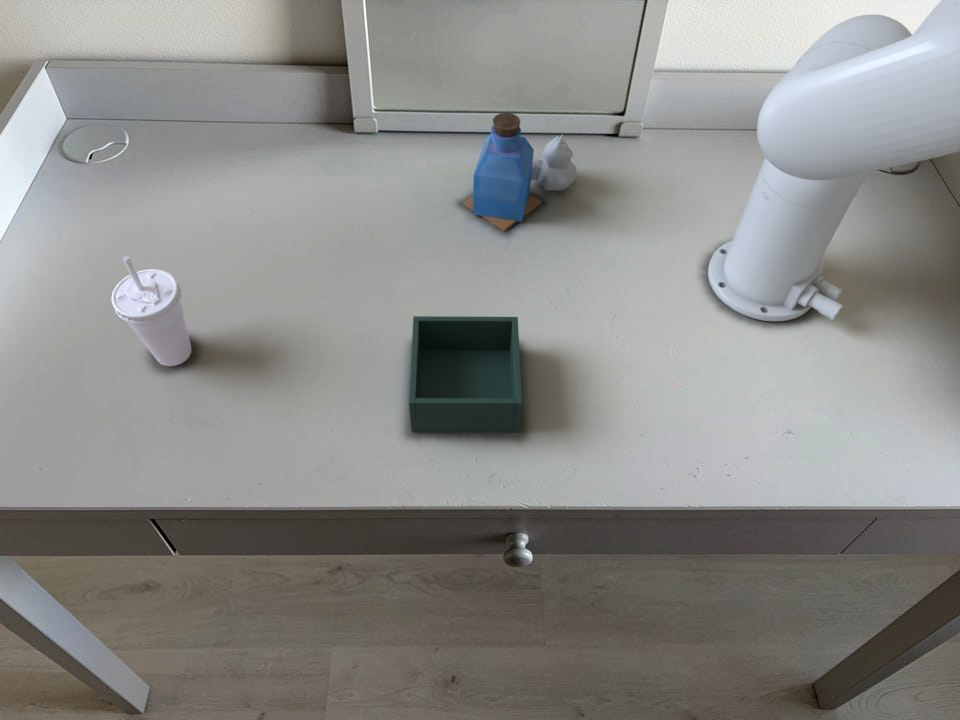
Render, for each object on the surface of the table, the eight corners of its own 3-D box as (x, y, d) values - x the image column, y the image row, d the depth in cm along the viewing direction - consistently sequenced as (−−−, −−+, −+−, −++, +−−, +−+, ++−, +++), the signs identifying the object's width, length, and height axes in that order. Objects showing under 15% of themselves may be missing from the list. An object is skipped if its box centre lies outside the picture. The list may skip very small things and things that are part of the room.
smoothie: (179, 320, 86) (137, 227, 75) (216, 349, 84) (179, 258, 73) (130, 355, 83) (79, 263, 72) (167, 387, 81) (121, 297, 70)
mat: (540, 203, 99) (541, 201, 99) (504, 231, 96) (504, 229, 95) (499, 178, 102) (499, 176, 101) (463, 204, 98) (463, 202, 98)
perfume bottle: (521, 221, 96) (528, 141, 87) (472, 214, 97) (474, 133, 87) (530, 189, 100) (537, 109, 90) (482, 181, 100) (485, 101, 91)
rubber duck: (575, 199, 99) (583, 148, 93) (524, 198, 99) (528, 147, 93) (573, 171, 103) (580, 120, 96) (523, 170, 103) (527, 119, 96)
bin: (514, 347, 85) (517, 316, 81) (518, 432, 78) (522, 403, 74) (415, 347, 85) (413, 316, 80) (411, 432, 78) (408, 403, 74)
